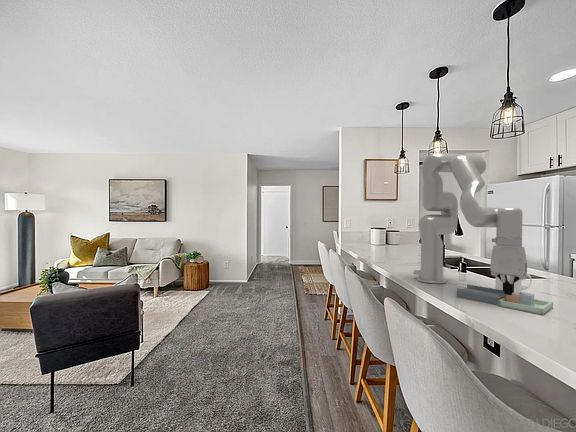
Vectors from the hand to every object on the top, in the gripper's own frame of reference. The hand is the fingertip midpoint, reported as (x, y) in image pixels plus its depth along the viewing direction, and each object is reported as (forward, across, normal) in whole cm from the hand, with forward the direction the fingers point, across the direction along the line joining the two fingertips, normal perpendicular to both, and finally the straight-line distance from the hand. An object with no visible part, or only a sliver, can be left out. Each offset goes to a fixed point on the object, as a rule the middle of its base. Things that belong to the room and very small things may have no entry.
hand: (508, 293), depth 111 cm
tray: (+4, +5, 0) cm, 6 cm away
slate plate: (+4, -8, 0) cm, 9 cm away
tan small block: (+3, +2, 0) cm, 4 cm away
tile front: (+1, +4, 0) cm, 4 cm away
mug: (+4, -4, +21) cm, 22 cm away
